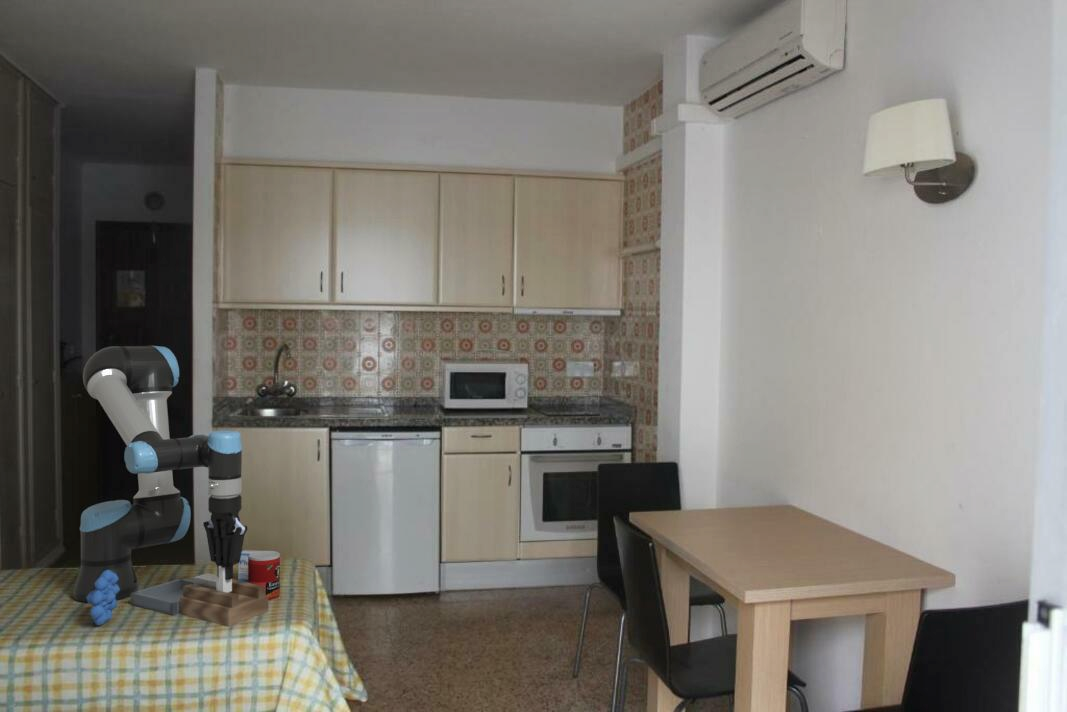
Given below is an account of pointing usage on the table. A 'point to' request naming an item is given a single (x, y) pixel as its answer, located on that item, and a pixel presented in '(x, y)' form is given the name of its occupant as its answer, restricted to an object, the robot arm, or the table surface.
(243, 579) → the medicine box
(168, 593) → the tray
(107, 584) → the grapes
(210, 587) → the grey cube
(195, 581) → the grey stone cube
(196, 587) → the slot block
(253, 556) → the canned food
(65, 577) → the table surface
